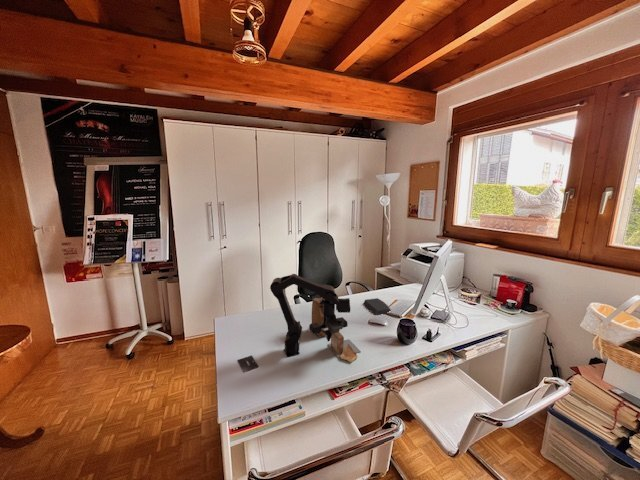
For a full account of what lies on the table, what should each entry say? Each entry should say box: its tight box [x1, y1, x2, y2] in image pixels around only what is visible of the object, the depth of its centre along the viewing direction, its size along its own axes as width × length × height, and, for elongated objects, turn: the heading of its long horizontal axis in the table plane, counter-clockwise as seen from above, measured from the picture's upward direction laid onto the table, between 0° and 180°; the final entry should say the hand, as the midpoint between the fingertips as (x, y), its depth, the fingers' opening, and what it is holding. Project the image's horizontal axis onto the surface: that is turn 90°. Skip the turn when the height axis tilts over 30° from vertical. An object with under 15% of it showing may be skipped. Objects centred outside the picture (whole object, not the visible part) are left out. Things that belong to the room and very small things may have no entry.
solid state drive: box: [237, 355, 259, 373], centre depth 123 cm, size 7×10×1 cm
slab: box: [330, 331, 345, 354], centre depth 133 cm, size 3×8×9 cm, turn 24°
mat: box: [327, 338, 361, 359], centre depth 136 cm, size 13×12×1 cm
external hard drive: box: [363, 297, 392, 316], centre depth 183 cm, size 13×19×4 cm
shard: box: [340, 344, 358, 363], centre depth 130 cm, size 11×8×2 cm
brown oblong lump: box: [311, 297, 326, 337], centre depth 149 cm, size 11×8×20 cm
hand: (328, 340), depth 131 cm, fingers closed
